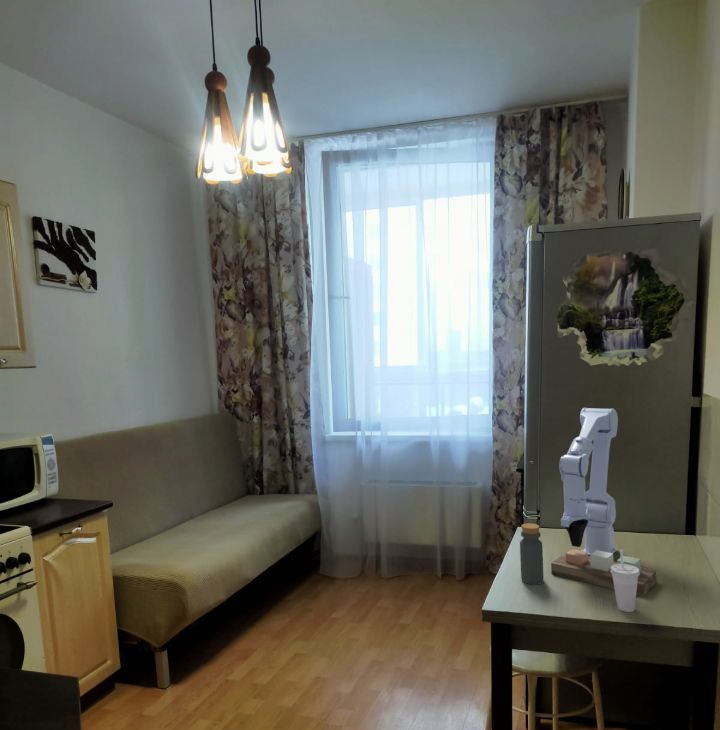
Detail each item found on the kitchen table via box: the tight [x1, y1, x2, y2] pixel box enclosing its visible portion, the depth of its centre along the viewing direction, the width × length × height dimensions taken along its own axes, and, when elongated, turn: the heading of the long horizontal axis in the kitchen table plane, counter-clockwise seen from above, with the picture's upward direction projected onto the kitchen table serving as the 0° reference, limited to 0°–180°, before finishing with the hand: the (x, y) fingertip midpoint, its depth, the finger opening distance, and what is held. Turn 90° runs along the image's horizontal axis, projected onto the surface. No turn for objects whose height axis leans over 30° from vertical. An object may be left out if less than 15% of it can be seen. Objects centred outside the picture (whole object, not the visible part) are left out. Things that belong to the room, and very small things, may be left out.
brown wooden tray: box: [550, 552, 658, 597], centre depth 155 cm, size 11×24×3 cm, turn 47°
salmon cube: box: [565, 548, 589, 566], centre depth 160 cm, size 4×4×4 cm
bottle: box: [519, 522, 544, 585], centre depth 155 cm, size 6×6×15 cm
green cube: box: [616, 555, 642, 574], centre depth 150 cm, size 4×4×4 cm
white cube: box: [590, 550, 614, 572], centre depth 155 cm, size 4×4×4 cm
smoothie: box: [610, 549, 640, 613], centre depth 136 cm, size 6×6×14 cm
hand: (576, 545), depth 160 cm, fingers closed
